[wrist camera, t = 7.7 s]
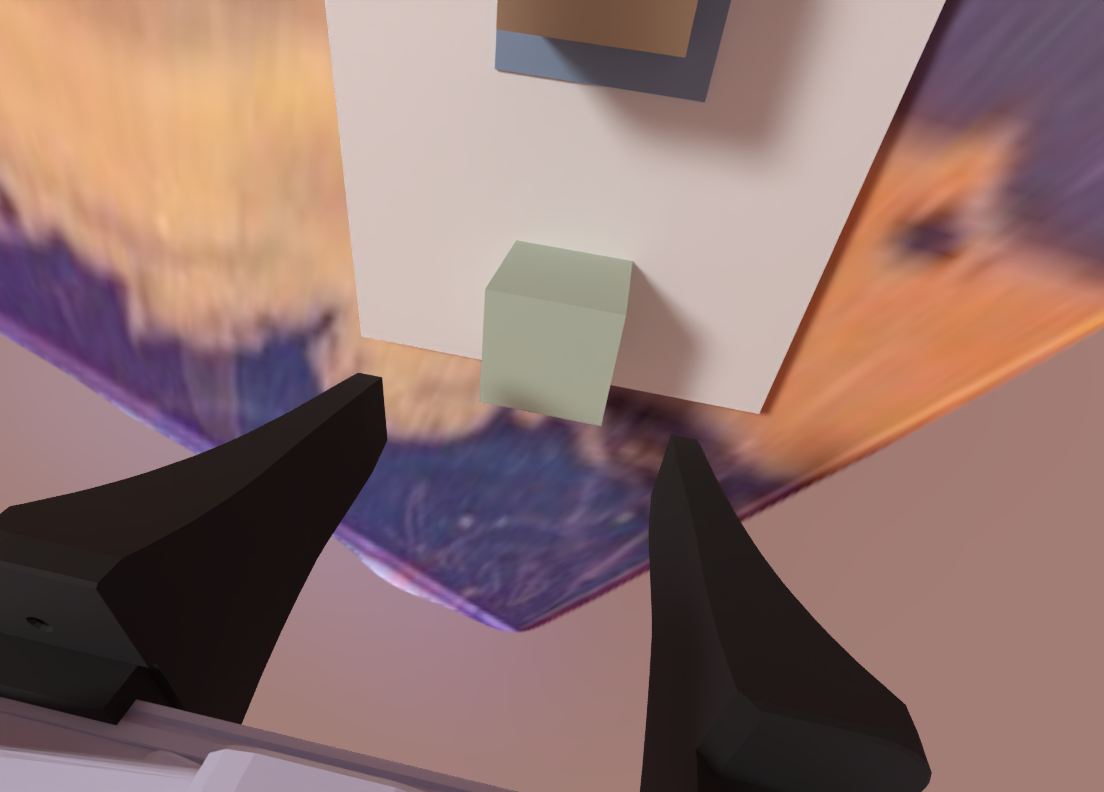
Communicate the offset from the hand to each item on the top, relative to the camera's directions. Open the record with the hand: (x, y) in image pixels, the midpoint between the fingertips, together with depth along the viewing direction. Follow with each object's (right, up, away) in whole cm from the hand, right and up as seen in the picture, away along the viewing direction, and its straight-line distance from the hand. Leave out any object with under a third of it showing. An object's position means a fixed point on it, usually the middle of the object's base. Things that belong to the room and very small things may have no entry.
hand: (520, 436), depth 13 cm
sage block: (+1, +4, +6) cm, 8 cm away
